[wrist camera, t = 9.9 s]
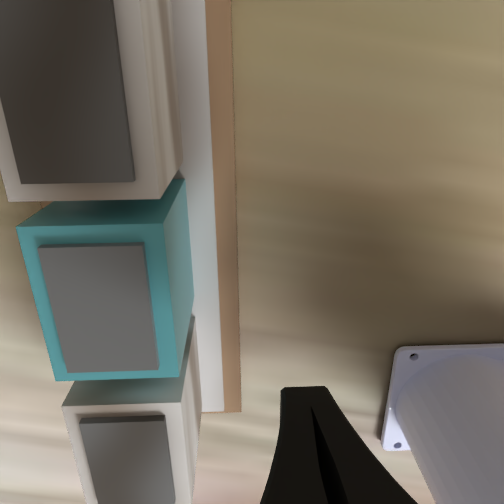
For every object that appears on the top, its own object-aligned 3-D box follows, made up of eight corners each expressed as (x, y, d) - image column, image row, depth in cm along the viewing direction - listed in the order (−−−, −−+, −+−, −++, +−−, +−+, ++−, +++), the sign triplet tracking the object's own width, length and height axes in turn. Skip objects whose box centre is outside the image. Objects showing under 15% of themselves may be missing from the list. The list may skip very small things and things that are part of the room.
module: (185, 178, 18) (161, 226, 12) (194, 296, 20) (178, 382, 15) (83, 180, 18) (10, 230, 12) (104, 298, 20) (52, 387, 15)
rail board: (230, -23, 16) (226, -97, 9) (241, 402, 25) (243, 526, 18) (0, -22, 16) (-181, -98, 9) (93, 407, 25) (38, 535, 18)
